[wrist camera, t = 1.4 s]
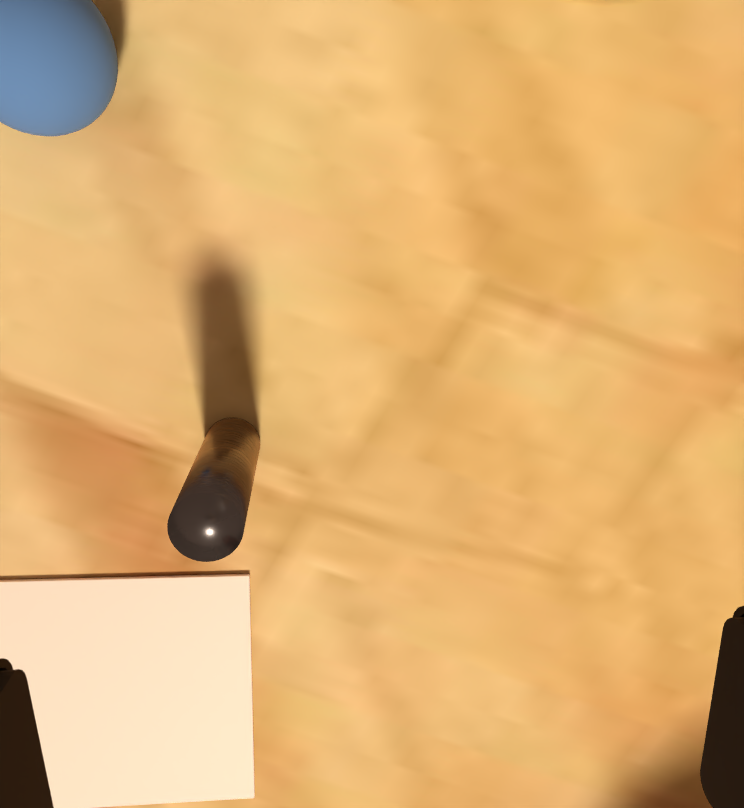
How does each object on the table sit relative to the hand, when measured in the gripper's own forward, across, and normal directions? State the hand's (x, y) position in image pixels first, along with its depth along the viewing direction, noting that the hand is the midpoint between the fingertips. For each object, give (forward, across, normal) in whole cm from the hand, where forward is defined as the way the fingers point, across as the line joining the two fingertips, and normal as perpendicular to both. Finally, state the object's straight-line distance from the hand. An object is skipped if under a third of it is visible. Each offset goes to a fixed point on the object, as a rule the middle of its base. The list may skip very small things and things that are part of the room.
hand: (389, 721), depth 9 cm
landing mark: (+22, +12, +18) cm, 31 cm away
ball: (+20, +10, -12) cm, 26 cm away
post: (+23, +5, +4) cm, 24 cm away
